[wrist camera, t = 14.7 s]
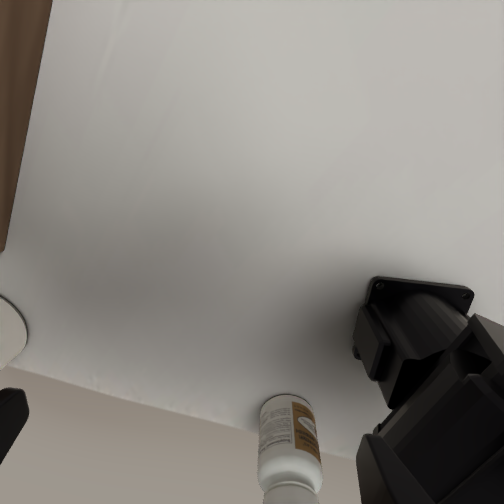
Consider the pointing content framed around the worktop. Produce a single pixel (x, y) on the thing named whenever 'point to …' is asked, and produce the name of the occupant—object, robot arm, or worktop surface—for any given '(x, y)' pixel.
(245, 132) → the worktop surface
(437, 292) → the robot arm
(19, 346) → the can
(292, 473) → the pill bottle
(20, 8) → the socket block
